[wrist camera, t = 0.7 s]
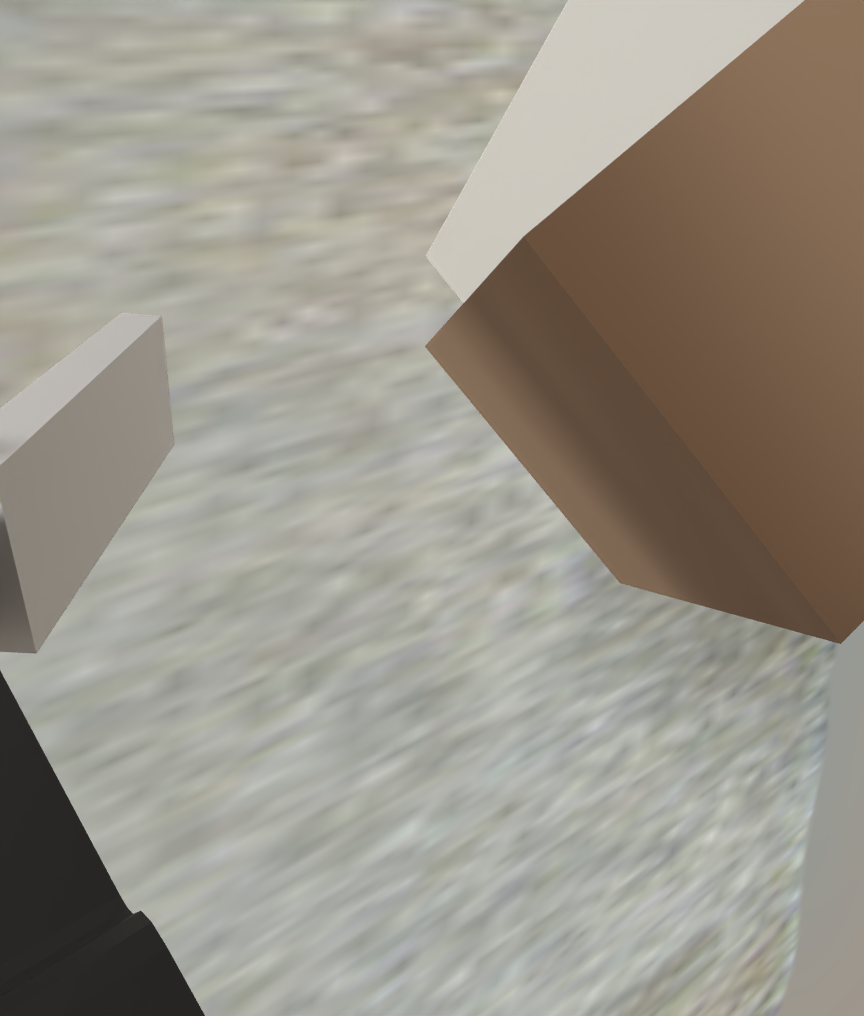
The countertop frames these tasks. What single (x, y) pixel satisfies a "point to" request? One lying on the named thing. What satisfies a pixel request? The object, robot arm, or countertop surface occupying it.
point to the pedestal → (588, 113)
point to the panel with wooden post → (703, 340)
